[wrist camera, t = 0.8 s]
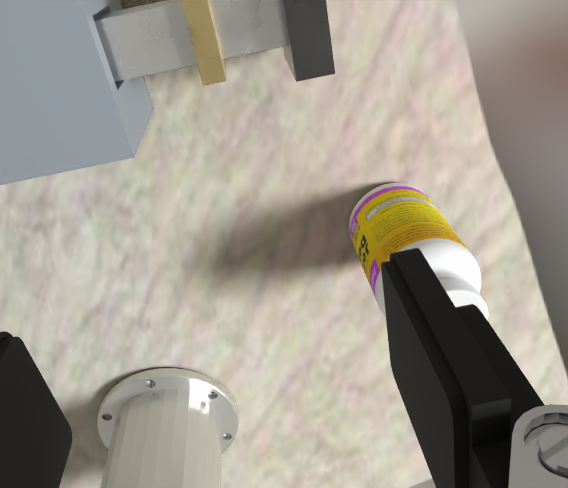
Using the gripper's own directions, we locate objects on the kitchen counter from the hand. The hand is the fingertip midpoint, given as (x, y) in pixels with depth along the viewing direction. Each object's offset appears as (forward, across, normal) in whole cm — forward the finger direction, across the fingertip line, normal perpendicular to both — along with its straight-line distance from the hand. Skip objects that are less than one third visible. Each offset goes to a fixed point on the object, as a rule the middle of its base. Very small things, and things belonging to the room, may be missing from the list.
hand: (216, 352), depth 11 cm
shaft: (+25, +1, -3) cm, 25 cm away
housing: (+28, +9, -3) cm, 29 cm away
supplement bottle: (+28, -10, +14) cm, 33 cm away
